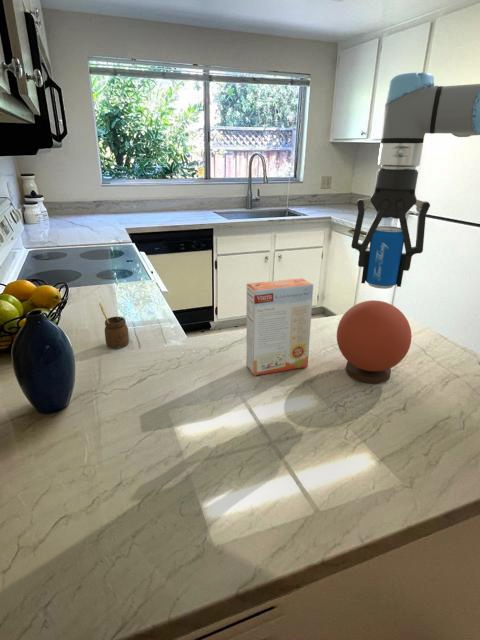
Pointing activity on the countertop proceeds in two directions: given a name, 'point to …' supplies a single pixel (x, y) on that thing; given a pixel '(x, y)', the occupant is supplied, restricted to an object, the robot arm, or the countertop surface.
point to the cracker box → (278, 325)
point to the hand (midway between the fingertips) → (380, 283)
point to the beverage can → (384, 257)
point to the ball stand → (373, 340)
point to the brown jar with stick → (116, 331)
